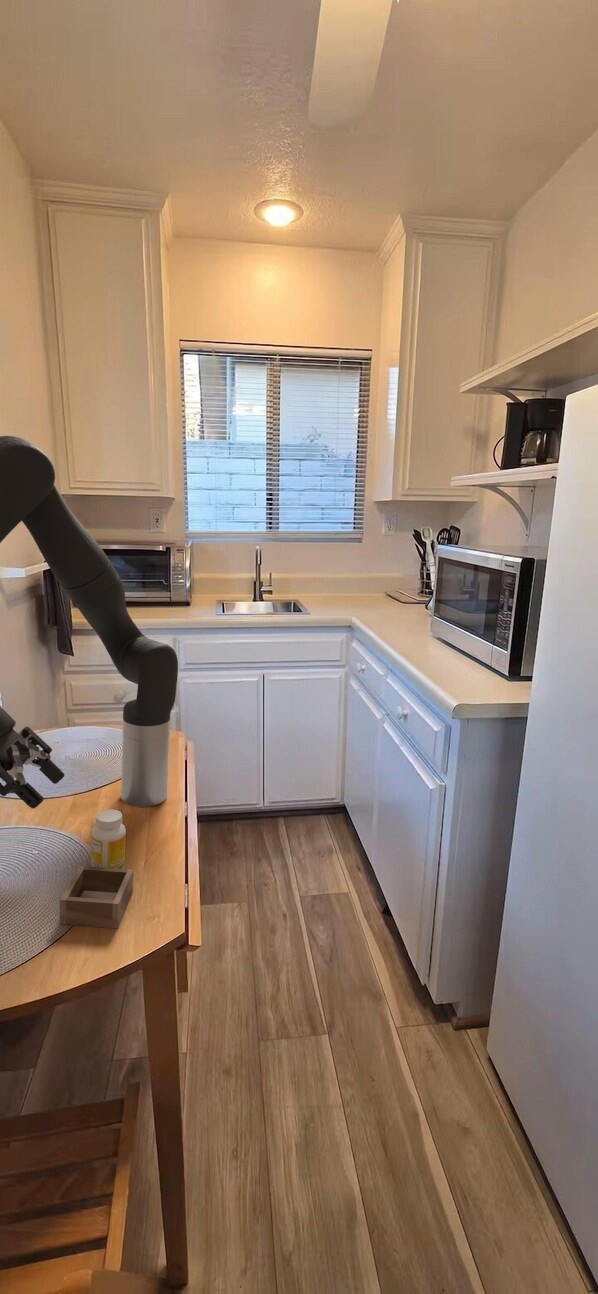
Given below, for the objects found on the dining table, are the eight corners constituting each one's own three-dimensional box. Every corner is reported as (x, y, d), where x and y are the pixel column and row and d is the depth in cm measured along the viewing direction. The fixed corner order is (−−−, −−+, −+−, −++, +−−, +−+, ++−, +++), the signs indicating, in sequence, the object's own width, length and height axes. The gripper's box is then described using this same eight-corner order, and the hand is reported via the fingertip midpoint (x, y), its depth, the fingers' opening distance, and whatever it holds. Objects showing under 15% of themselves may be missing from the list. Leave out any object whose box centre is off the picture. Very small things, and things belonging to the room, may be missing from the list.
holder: (79, 888, 92) (80, 865, 91) (132, 892, 92) (133, 869, 92) (59, 924, 84) (59, 899, 83) (117, 928, 84) (118, 903, 84)
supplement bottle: (87, 877, 95) (87, 823, 93) (95, 858, 100) (95, 806, 98) (121, 878, 96) (122, 824, 94) (127, 858, 101) (128, 807, 99)
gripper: (-33, 719, 84) (49, 798, 87) (13, 690, 98) (82, 759, 101) (-68, 751, 85) (13, 828, 88) (-18, 717, 99) (51, 785, 102)
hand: (50, 791), depth 95 cm, fingers open, 8 cm apart
